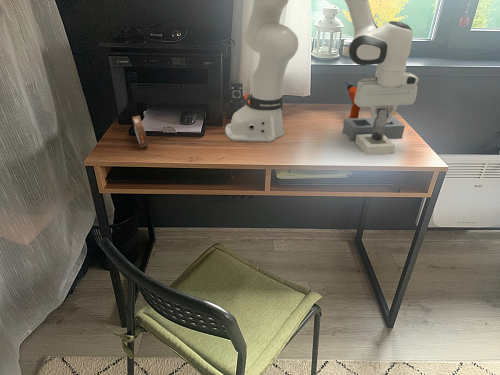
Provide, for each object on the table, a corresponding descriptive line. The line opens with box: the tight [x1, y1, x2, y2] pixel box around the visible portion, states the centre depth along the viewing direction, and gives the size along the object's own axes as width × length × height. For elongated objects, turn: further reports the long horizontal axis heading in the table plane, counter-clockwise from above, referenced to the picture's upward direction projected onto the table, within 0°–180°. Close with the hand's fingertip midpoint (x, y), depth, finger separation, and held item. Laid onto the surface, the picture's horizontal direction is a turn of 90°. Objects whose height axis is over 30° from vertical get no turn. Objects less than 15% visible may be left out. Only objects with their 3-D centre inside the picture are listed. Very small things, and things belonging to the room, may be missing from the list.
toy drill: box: [344, 80, 361, 118], centre depth 152 cm, size 5×19×15 cm, turn 8°
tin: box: [131, 115, 149, 148], centre depth 133 cm, size 15×3×8 cm, turn 22°
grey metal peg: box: [371, 106, 390, 140], centre depth 130 cm, size 4×4×11 cm
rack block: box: [354, 134, 396, 156], centre depth 134 cm, size 10×10×3 cm
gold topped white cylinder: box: [386, 108, 396, 125], centre depth 143 cm, size 4×4×9 cm
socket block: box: [342, 116, 406, 142], centre depth 143 cm, size 20×9×5 cm, turn 99°
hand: (380, 117), depth 129 cm, fingers closed on grey metal peg, 4 cm apart
